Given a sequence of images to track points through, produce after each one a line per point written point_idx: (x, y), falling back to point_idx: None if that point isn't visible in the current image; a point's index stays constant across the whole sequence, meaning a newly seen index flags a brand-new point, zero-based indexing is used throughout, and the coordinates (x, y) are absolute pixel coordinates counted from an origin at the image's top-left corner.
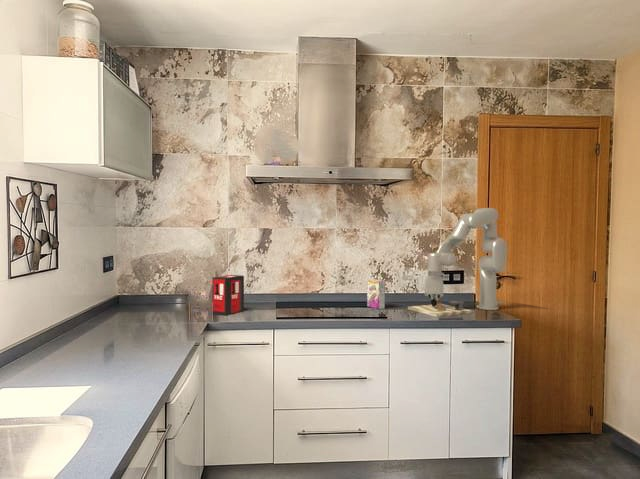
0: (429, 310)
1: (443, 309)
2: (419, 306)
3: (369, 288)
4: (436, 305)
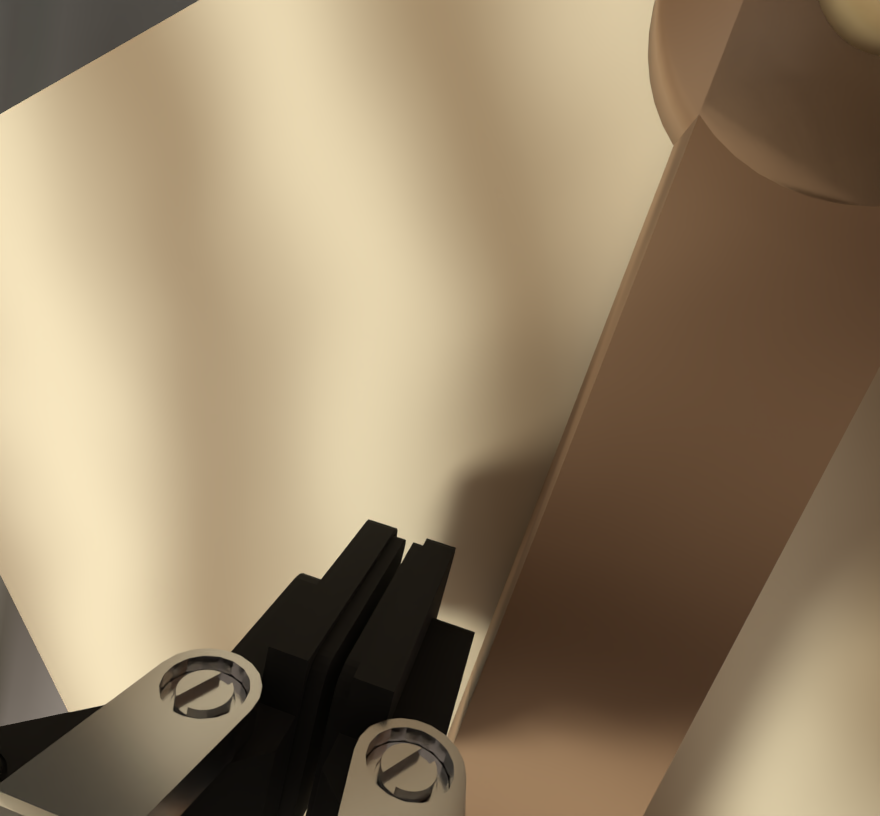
0: None
1: None
2: (113, 184)
3: None
4: (517, 565)
